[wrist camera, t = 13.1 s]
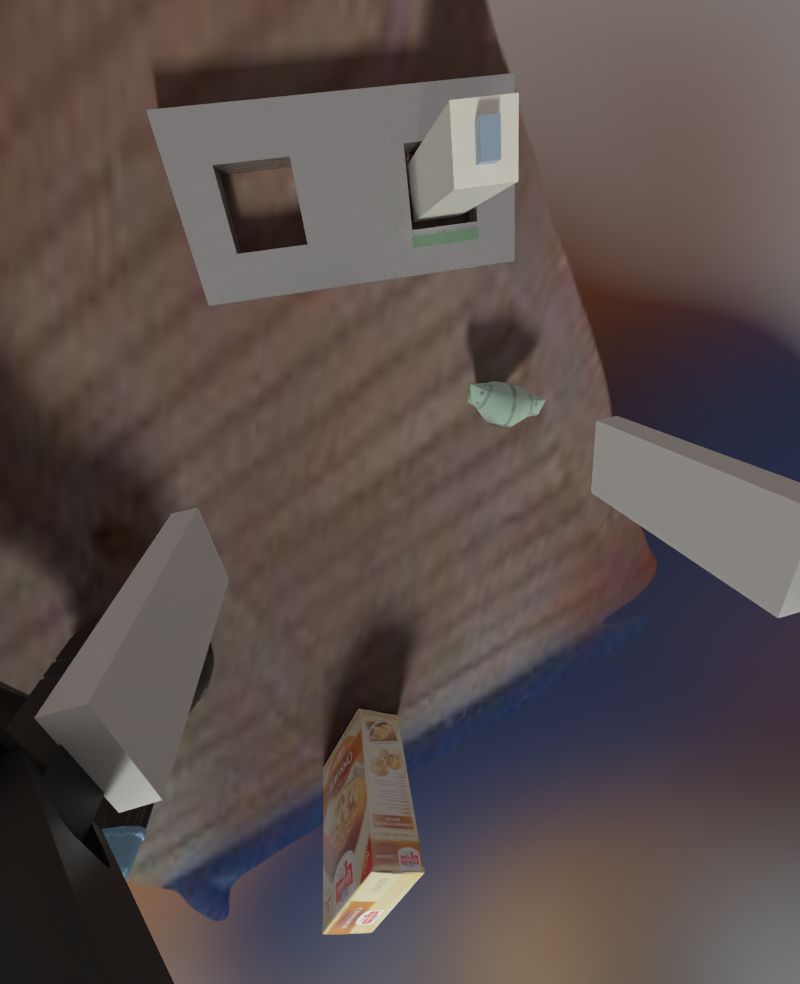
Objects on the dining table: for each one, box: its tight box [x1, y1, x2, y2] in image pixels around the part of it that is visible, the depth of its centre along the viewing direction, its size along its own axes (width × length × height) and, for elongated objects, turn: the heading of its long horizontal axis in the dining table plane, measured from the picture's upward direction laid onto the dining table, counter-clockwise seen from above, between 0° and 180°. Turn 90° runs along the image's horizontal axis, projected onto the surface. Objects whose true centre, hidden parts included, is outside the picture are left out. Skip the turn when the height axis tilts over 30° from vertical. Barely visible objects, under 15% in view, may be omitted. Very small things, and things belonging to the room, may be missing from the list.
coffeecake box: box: [322, 709, 425, 935], centre depth 55 cm, size 15×7×20 cm, turn 153°
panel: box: [146, 73, 515, 306], centre depth 32 cm, size 26×12×3 cm, turn 97°
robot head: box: [468, 381, 546, 428], centre depth 39 cm, size 8×4×7 cm, turn 77°
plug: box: [408, 93, 519, 222], centre depth 28 cm, size 4×4×13 cm
